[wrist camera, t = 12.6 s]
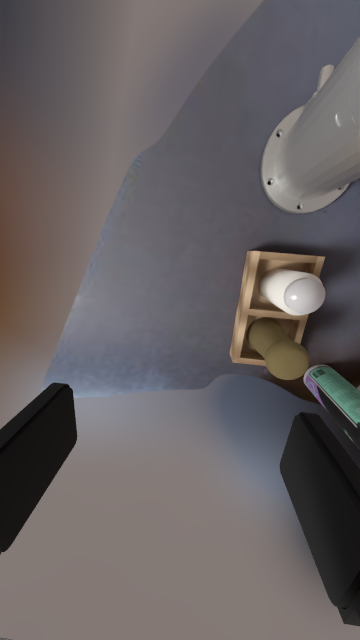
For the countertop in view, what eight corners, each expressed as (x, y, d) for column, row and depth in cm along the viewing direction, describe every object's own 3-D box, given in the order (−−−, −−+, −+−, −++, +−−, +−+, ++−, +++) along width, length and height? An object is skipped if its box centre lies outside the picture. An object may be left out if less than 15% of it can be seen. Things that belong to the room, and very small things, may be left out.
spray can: (297, 384, 39) (393, 506, 20) (312, 360, 37) (432, 469, 18) (324, 393, 39) (444, 523, 20) (340, 369, 38) (487, 487, 19)
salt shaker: (261, 266, 32) (288, 271, 23) (295, 269, 32) (337, 276, 23) (255, 299, 34) (278, 316, 24) (287, 302, 34) (323, 321, 24)
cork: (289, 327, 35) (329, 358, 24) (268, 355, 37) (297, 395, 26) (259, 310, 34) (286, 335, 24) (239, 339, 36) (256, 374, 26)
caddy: (247, 251, 33) (253, 250, 29) (311, 256, 32) (325, 256, 29) (229, 352, 38) (232, 362, 35) (284, 358, 38) (293, 368, 34)
